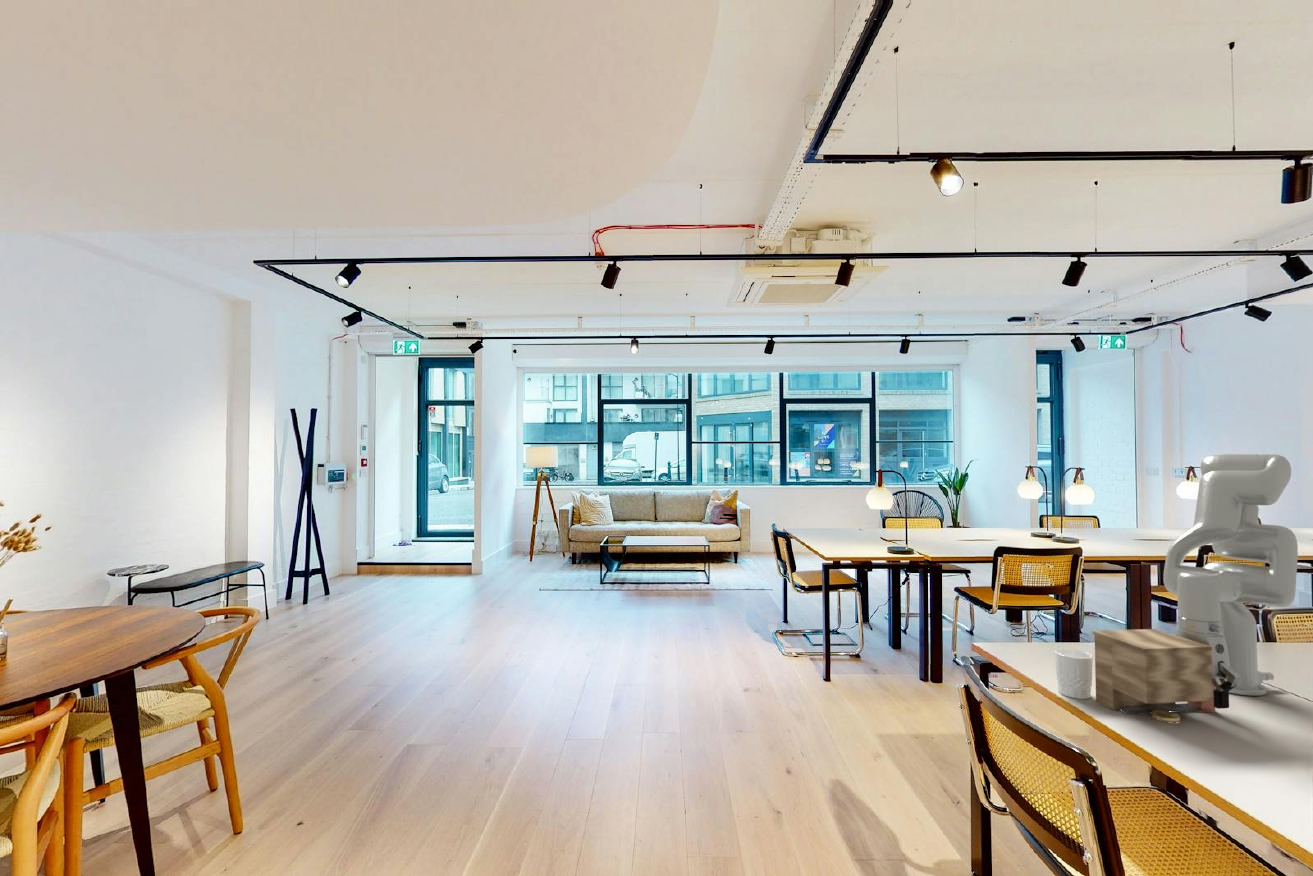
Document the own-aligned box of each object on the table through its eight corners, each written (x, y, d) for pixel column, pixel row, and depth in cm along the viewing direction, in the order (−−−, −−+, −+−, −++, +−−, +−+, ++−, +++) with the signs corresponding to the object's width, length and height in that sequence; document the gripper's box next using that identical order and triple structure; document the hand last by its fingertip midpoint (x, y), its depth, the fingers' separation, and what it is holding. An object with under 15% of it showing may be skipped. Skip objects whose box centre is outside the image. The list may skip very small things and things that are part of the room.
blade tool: (1200, 705, 149) (1200, 675, 149) (1215, 711, 145) (1214, 681, 145) (1118, 709, 146) (1117, 679, 147) (1130, 715, 143) (1130, 684, 143)
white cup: (1099, 701, 151) (1099, 659, 151) (1063, 699, 153) (1062, 657, 153) (1084, 689, 159) (1083, 649, 159) (1050, 687, 160) (1049, 647, 161)
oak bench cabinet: (1156, 698, 153) (1154, 628, 153) (1214, 723, 139) (1212, 646, 139) (1093, 701, 151) (1092, 630, 152) (1146, 726, 137) (1144, 649, 138)
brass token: (1165, 714, 144) (1165, 709, 144) (1186, 724, 139) (1186, 718, 139) (1146, 715, 144) (1145, 710, 144) (1165, 725, 139) (1165, 719, 139)
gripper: (1251, 635, 139) (1254, 714, 138) (1179, 616, 156) (1181, 685, 156) (1221, 636, 138) (1223, 715, 138) (1151, 616, 155) (1153, 686, 155)
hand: (1200, 699), depth 147 cm, fingers open, 9 cm apart
